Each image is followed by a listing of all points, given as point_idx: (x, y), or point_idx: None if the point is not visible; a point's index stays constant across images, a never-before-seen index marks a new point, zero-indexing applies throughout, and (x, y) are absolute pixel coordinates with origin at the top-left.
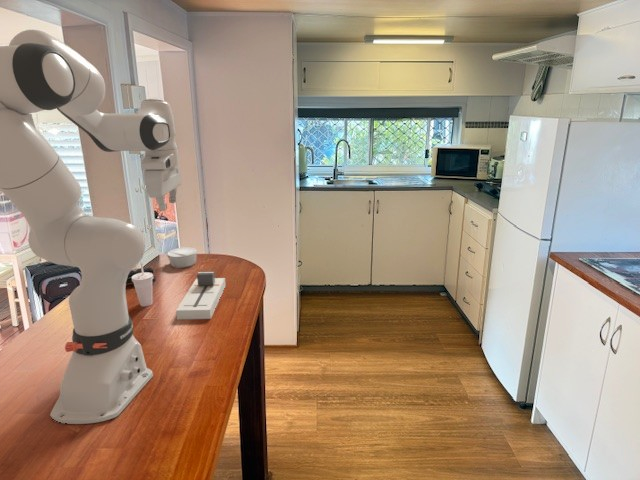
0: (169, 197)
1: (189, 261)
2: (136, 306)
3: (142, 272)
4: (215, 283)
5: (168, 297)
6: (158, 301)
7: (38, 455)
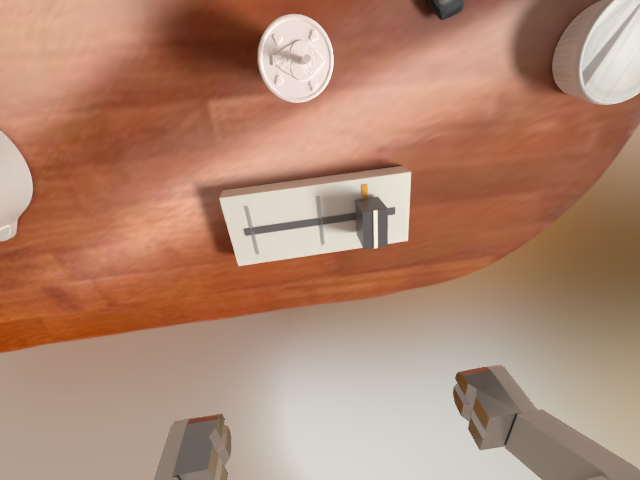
0: (496, 419)
1: (567, 87)
2: None
3: (300, 61)
4: None
5: (335, 115)
6: None
7: None
